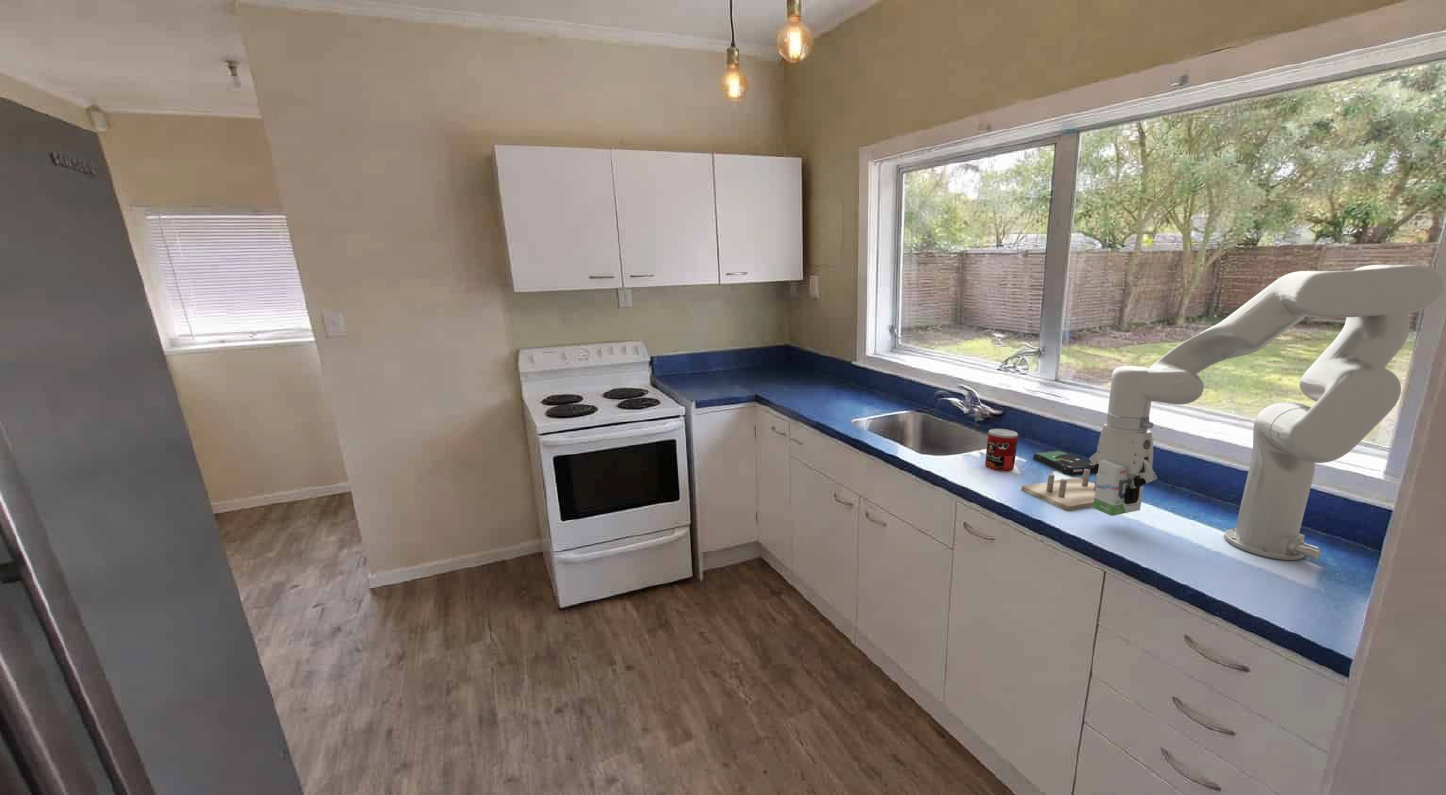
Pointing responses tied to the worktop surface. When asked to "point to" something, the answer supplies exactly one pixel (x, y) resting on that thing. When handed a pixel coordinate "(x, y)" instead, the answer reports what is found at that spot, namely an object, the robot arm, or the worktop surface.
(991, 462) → the canned food
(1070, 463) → the disk drive
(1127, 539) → the worktop surface
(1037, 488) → the pin tray
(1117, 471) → the ink box
